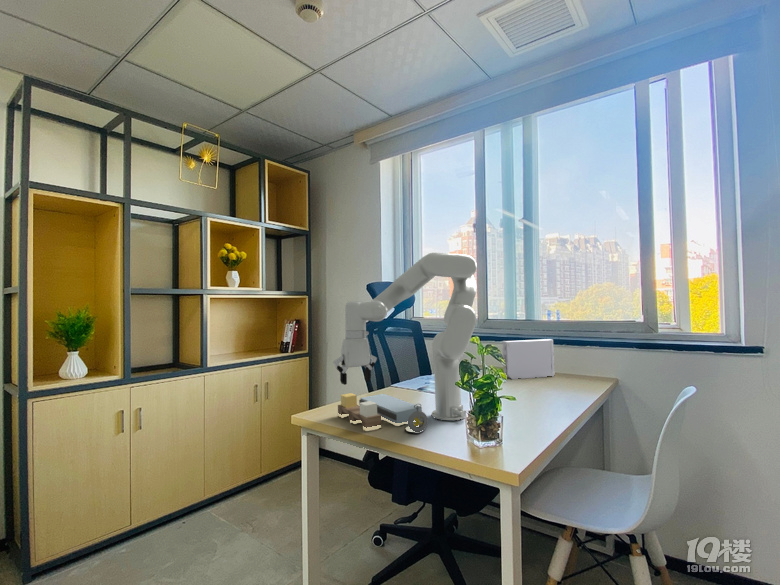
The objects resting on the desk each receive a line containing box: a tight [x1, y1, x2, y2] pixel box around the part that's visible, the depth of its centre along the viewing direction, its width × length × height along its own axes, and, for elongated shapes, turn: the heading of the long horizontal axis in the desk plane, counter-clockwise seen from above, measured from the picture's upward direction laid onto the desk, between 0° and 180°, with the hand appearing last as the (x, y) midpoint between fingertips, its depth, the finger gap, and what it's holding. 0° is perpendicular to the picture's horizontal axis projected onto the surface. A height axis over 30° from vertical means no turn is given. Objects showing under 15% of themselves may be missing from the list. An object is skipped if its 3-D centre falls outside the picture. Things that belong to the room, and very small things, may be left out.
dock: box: [358, 393, 423, 423], centre depth 146 cm, size 26×12×5 cm, turn 33°
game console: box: [502, 338, 555, 380], centre depth 209 cm, size 6×27×20 cm, turn 98°
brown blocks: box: [337, 404, 382, 428], centre depth 139 cm, size 22×6×4 cm, turn 33°
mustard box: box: [340, 392, 358, 408], centre depth 146 cm, size 4×4×4 cm
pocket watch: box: [407, 403, 429, 433], centre depth 127 cm, size 8×8×10 cm
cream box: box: [359, 401, 377, 417], centre depth 133 cm, size 4×4×4 cm
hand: (355, 382), depth 139 cm, fingers open, 9 cm apart
